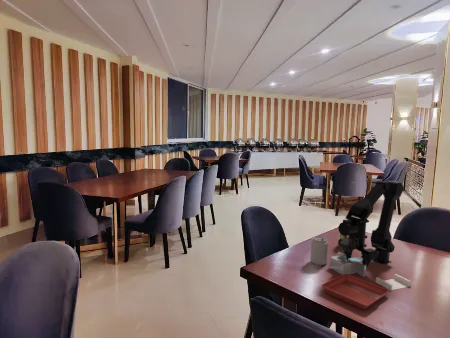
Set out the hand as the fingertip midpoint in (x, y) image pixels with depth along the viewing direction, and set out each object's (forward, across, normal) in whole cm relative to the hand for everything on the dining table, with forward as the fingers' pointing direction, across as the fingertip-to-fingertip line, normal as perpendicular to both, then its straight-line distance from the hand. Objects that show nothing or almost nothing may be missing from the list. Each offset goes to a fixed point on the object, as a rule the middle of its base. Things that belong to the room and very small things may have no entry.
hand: (355, 266), depth 139 cm
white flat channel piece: (+1, +17, +3) cm, 17 cm away
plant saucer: (+2, +18, -18) cm, 26 cm away
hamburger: (+2, -25, +18) cm, 31 cm away
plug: (+2, 0, 0) cm, 2 cm away
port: (+1, 0, -6) cm, 7 cm away
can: (+2, -11, -12) cm, 16 cm away
